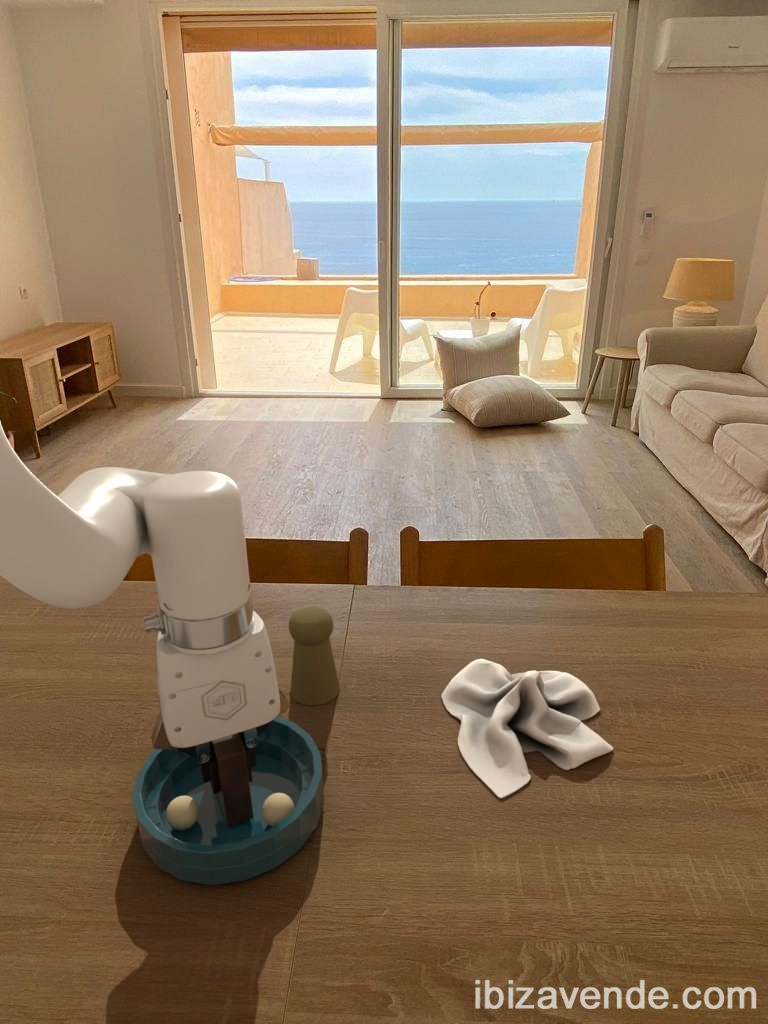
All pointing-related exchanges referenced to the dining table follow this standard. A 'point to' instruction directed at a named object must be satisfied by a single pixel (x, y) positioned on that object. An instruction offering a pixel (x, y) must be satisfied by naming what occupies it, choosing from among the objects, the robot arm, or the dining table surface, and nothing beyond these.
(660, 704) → the dining table surface
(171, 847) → the bowl
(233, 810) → the brown brick
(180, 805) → the dough ball
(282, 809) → the dough ball
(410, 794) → the dining table surface
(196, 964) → the dining table surface
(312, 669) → the olive chess pawn
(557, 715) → the cloth
